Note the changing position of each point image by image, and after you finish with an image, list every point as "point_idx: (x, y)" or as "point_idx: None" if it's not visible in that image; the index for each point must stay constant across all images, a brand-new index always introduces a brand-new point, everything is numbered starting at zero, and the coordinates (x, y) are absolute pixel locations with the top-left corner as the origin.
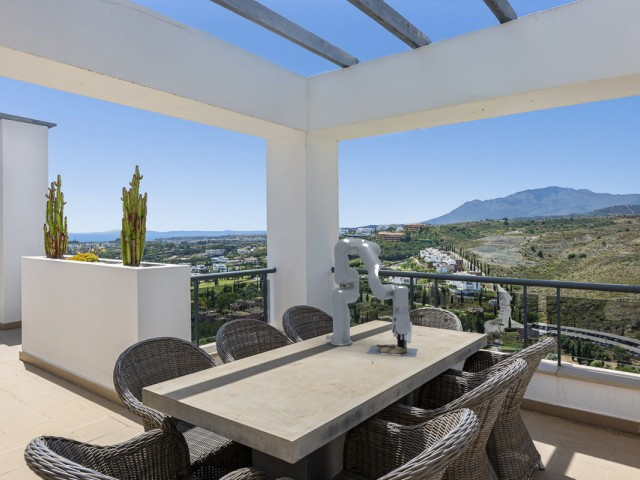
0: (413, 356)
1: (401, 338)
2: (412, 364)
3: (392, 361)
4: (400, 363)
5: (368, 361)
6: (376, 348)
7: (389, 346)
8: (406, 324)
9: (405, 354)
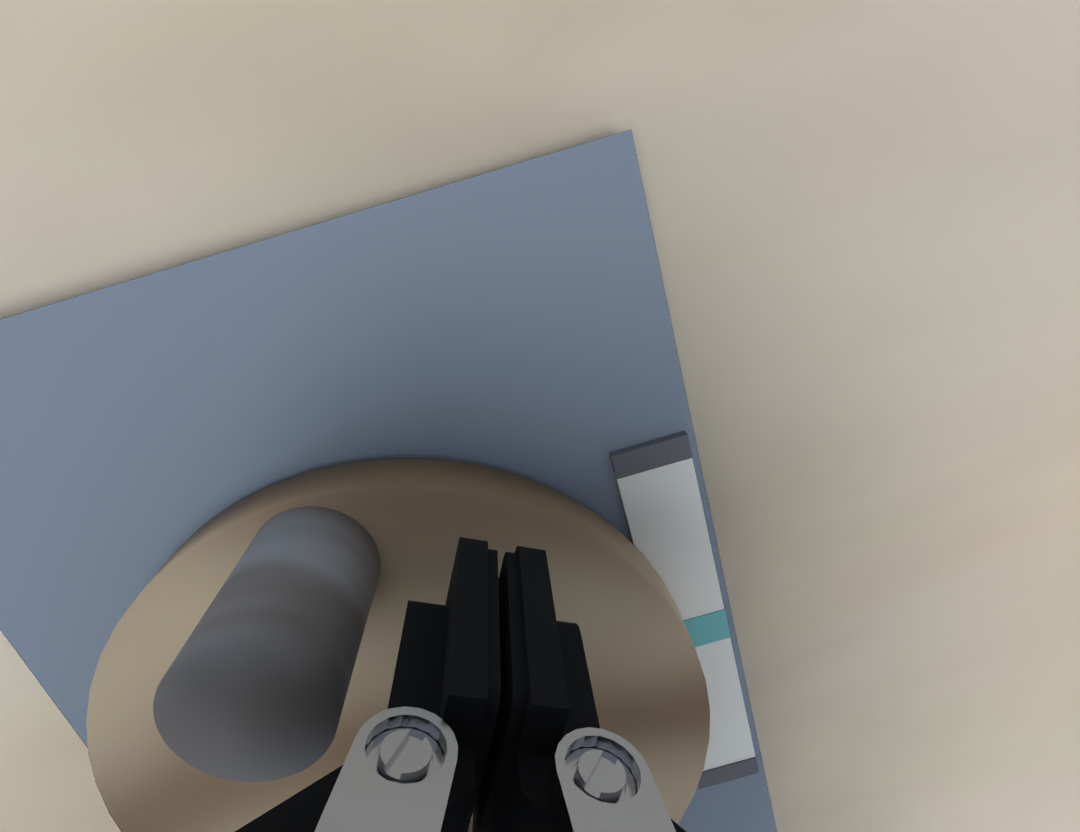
0: (609, 185)
1: (613, 780)
2: (975, 54)
3: (896, 471)
4: (978, 302)
5: (1018, 730)
6: None
7: None
8: None
9: (531, 411)
